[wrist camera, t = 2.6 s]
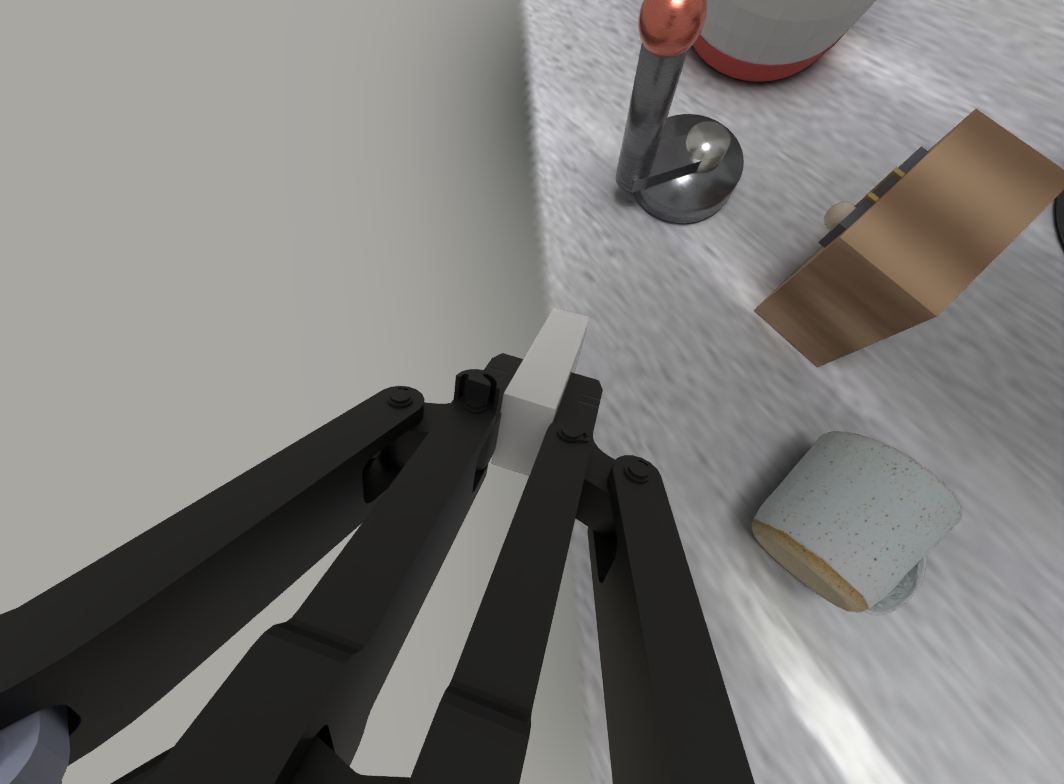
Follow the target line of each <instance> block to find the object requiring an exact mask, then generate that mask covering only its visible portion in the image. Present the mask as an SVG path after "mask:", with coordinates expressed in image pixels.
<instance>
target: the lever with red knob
mask: <svg viewBox="0 0 1064 784" xmlns="http://www.w3.org/2000/svg"><path fill="white" fill-rule="evenodd" d="M706 15H707V0H644V1H643V3H642V6H641V9H640V13H639V21H638V24H639V34H640V38H641V41H642V45H641V50H640V55H639V61H638V66H637V71H636V76H635V81H634V86H633V91H632V96H631V101H630V107H629V112H628V117H627V122H626V127H625V132H624V137H623V142H622V147H621V153H620V158H619V163H618V168H617V173H616V182H617V184H618V185H619V187H621V188H622V189H623V190H625V191H629V192H631V193H632V192H634V195H635V197H636V198H637V200H638V201H639V203H640V204H641V205H642V206H643V207H644V208H645V209H646V210H647V211H648V212H650V213H651V214H653V215H654V216H656V217H658V218H660V219H663V220H666V221H670V222H675V223H691V222H696V221H700V220H703V219H705V218H708V217H709V216H711V215H713V214H714V213H716V212H717V211H718V210H719V209H720V208H721V207H722V206H723V205H724V204H725V203H726V201H727V199H728V198H729V196H730V194H731V193H732V191H733V190H734V188H735V186H736V185H737V183H738V181H739V180H740V177H741V175H742V171H743V163H744V160H743V153H742V149H741V146H740V144H739V142H738V140H737V139H736V137H735V136H734V135H733V133H732V132H731V131H730V130H729V129H728V128H726V127H725V126H724V125H722V124H721V123H719V122H717V121H716V120H713V119H711V118H708V117H705V116H701V115H694V114H682V115H675V116H671V117H668V118H667V116H668V113H669V110H670V106H671V103H672V100H673V97H674V93H675V90H676V87H677V83H678V80H679V77H680V74H681V70H682V67H683V64H684V61H685V57H686V54H687V51H688V49H689V48H690V47H691V46H692V45H693V44H694V43H695V41H696V40H697V38H698V37H699V35H700V33H701V31H702V29H703V26H704V23H705V20H706Z"/></svg>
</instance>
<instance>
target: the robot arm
mask: <svg viewBox="0 0 1064 784" xmlns="http://www.w3.org/2000/svg"><path fill="white" fill-rule="evenodd" d="M1056 219H1057V225H1058V230H1059V233H1060V237H1061V239H1062V242H1063V244H1064V190H1063V191H1062V192H1061V193H1060V194H1059V195H1058V196H1057V202H1056ZM589 319H590V317H588V316H584V315H581V314H577V313H574V312H570V311H566V310H563V309H559V308H556V307H554V308H553V309H552V311H551V313H550V315H549V316H548V318H547V320H546V321H545V323H544V325H543V327H542V328H541V330H540V332H539V333H538V335H537V337H536V339H535V340H534V342H533V344H532V346H531V347H530V349H529V351H528V352H527V354H526V356H525V358H524V359H521V358H517V357H514V356H510V355H507V354H504V353H502V354H500V355H498V356H496V357H494V358H492V359H491V361H490V362H489V363H488V365H487V367H486V368H485V369H484V370H478V369H471V370H465V371H462V372H460V373H459V374H458V375H456V381H455V392H454V400H453V401H452V402H451V403H448V404H435V403H434V404H433V403H424V397H423V395H422V393H420V392H419V391H418V390H416V389H413V388H410V387H406V386H395V387H390V388H387V389H384V390H382V391H380V392H379V393H377V394H375V395H374V396H372V397H370V398H369V399H367V400H365V401H363V402H362V403H360V404H358V405H357V406H355V407H354V408H352V409H350V410H348V411H347V412H345V413H343V414H342V415H340V416H339V417H337V418H335V419H333V420H332V421H330V422H328V423H327V424H325V425H323V426H322V427H320V428H318V429H317V430H315V431H313V432H312V433H310V434H308V435H307V436H305V437H303V438H301V439H300V440H298V441H296V442H295V443H293V444H291V445H290V446H288V447H286V448H285V449H283V450H282V451H280V452H278V453H276V454H275V455H273V456H272V457H270V458H268V459H266V460H265V461H263V462H261V463H260V464H258V465H256V466H255V467H253V468H251V469H250V470H248V471H246V472H244V473H243V474H241V475H239V476H238V477H236V478H234V479H233V480H231V481H230V482H228V483H226V484H224V485H223V486H221V487H219V488H218V489H216V490H214V491H213V492H211V493H209V494H208V495H206V496H204V497H203V498H201V499H199V500H198V501H196V502H194V503H192V504H191V505H189V506H188V507H186V508H184V509H182V510H181V511H179V512H177V513H176V514H174V515H173V516H171V517H169V518H167V519H166V520H164V521H162V522H161V523H159V524H157V525H156V526H154V527H152V528H151V529H149V530H147V531H146V532H144V533H142V534H141V535H139V536H137V537H135V538H134V539H132V540H130V541H129V542H127V543H125V544H124V545H122V546H120V547H119V548H117V549H115V550H114V551H112V552H110V553H109V554H107V555H105V556H104V557H102V558H100V559H99V560H97V561H96V562H94V563H92V564H90V565H89V566H87V567H85V568H83V569H82V570H80V571H79V572H77V573H75V574H74V575H72V576H70V577H68V578H67V579H65V580H64V581H62V582H60V583H58V584H57V585H55V586H53V587H52V588H50V589H48V590H47V591H45V592H43V593H42V594H40V595H38V596H37V597H35V598H33V599H32V600H30V601H28V602H27V603H25V604H23V605H21V606H20V607H18V608H16V609H13V610H11V611H8V612H6V613H3V614H1V615H0V784H62V778H63V775H64V773H65V771H66V769H67V766H69V765H70V764H72V763H73V762H75V761H77V760H78V759H79V758H81V757H83V756H84V755H86V754H88V753H89V752H91V751H93V750H94V749H95V748H97V747H98V746H100V745H101V744H103V743H104V742H105V741H107V740H108V739H109V738H111V737H112V736H114V735H115V734H116V733H118V732H119V731H121V730H122V729H123V728H125V727H126V726H128V725H129V724H131V723H132V722H133V721H134V720H136V719H137V718H138V717H139V716H140V715H142V714H143V713H144V712H145V711H147V710H148V709H149V708H150V707H151V706H153V705H154V704H155V703H156V702H157V701H159V700H160V699H161V698H162V697H164V696H165V695H166V694H167V693H168V692H169V691H171V690H172V689H173V688H174V687H175V686H176V685H177V684H178V683H180V682H181V681H182V680H183V679H184V678H185V677H187V676H188V675H189V674H190V673H191V672H192V671H193V670H195V669H196V668H197V667H198V666H199V665H200V664H201V663H203V662H204V661H205V660H206V659H207V658H208V657H209V656H210V655H212V654H213V653H214V652H215V651H216V650H217V649H219V647H221V646H222V645H223V644H224V643H225V642H227V641H228V640H229V639H230V638H231V637H232V636H233V635H235V634H236V633H237V632H238V631H239V630H240V629H241V628H243V627H244V626H245V625H246V624H247V623H248V622H249V621H251V620H252V619H253V618H254V617H255V616H256V615H257V614H259V613H260V612H261V611H262V610H263V609H264V608H265V607H267V606H268V605H269V604H270V603H271V602H272V601H273V600H275V599H276V598H277V597H278V596H279V595H280V594H281V593H283V592H284V591H285V590H286V589H287V588H288V587H289V586H291V585H292V584H293V583H294V582H295V581H296V580H297V579H299V578H300V577H301V576H302V575H303V574H304V573H305V572H307V570H309V569H310V568H311V567H312V566H313V565H315V564H316V563H317V562H318V561H319V560H320V559H321V558H323V557H324V556H325V555H326V554H327V553H328V552H329V551H331V550H332V549H333V548H334V547H335V546H336V545H337V544H339V543H340V542H341V541H342V540H343V539H344V538H345V537H347V536H348V535H349V534H350V533H351V532H352V531H353V530H354V529H356V528H357V527H358V526H359V525H360V524H361V523H362V524H361V526H360V527H359V528H358V530H357V531H356V532H355V534H354V535H353V536H352V538H351V539H350V540H349V542H348V543H347V544H346V546H345V547H344V549H343V550H342V551H341V553H340V554H339V555H338V557H337V558H336V560H335V561H334V562H333V563H332V565H331V566H330V568H329V569H328V571H327V572H326V573H325V574H324V576H323V577H322V578H321V580H320V581H319V582H318V584H317V585H316V587H315V588H314V589H313V591H312V592H311V593H310V595H309V596H308V597H307V599H306V600H305V602H304V603H303V604H302V605H301V607H300V608H299V610H298V611H297V612H296V613H295V614H294V615H293V617H292V618H291V619H289V620H288V621H287V622H284V623H280V624H276V625H273V626H272V627H271V628H269V629H268V630H267V631H265V632H264V633H263V634H262V635H261V636H260V637H259V639H258V640H257V641H256V642H255V643H254V644H253V645H252V647H251V648H250V649H249V651H248V652H247V653H246V654H245V656H244V657H243V659H242V660H241V661H240V662H239V663H238V665H237V666H236V667H235V669H234V670H233V671H232V672H231V674H230V675H229V676H228V678H227V679H226V680H225V681H224V683H223V684H222V685H221V687H220V688H219V689H218V690H217V692H216V693H215V694H214V696H213V697H212V698H211V699H210V701H209V702H208V704H207V705H206V706H205V707H204V709H203V710H202V711H201V713H200V714H199V715H198V716H197V718H196V719H195V720H194V721H193V723H192V724H191V725H190V727H189V728H188V729H187V731H186V732H185V733H184V734H183V736H182V737H181V738H180V739H179V741H178V742H177V743H176V745H175V746H174V747H172V748H170V749H169V750H167V751H165V752H163V753H161V754H160V755H158V756H156V757H155V758H153V759H151V760H150V761H148V762H146V763H144V764H143V765H141V766H140V767H138V768H136V769H134V770H133V771H131V772H129V773H128V774H126V775H124V776H123V777H121V778H119V779H118V780H116V781H114V782H113V783H111V784H519V782H520V777H521V773H522V768H523V764H524V759H525V755H526V750H527V745H528V740H529V735H530V728H531V713H532V708H533V703H534V699H535V694H536V690H537V685H538V681H539V676H540V672H541V667H542V663H543V659H544V654H545V650H546V645H547V641H548V636H549V632H550V628H551V623H552V619H553V615H554V610H555V606H556V601H557V597H558V592H559V588H560V584H561V579H562V574H563V570H564V566H565V562H566V557H567V553H568V548H569V544H570V539H571V535H572V531H573V526H574V522H575V518H576V519H578V520H579V521H581V522H582V523H584V524H585V525H587V526H588V540H589V550H590V560H591V570H592V580H593V590H594V600H595V610H596V620H597V630H598V640H599V650H600V660H601V669H602V679H603V689H604V699H605V709H606V719H607V729H608V739H609V749H610V759H611V769H612V779H613V784H755V783H754V780H753V777H752V773H751V770H750V767H749V763H748V760H747V757H746V754H745V750H744V747H743V744H742V740H741V737H740V734H739V731H738V727H737V724H736V721H735V717H734V714H733V711H732V708H731V704H730V701H729V698H728V694H727V691H726V688H725V685H724V681H723V678H722V675H721V671H720V668H719V665H718V662H717V658H716V655H715V652H714V648H713V645H712V642H711V639H710V635H709V632H708V629H707V625H706V622H705V619H704V616H703V612H702V609H701V606H700V603H699V599H698V596H697V593H696V589H695V586H694V583H693V580H692V576H691V573H690V570H689V566H688V563H687V560H686V557H685V553H684V550H683V547H682V543H681V540H680V537H679V534H678V530H677V527H676V524H675V520H674V517H673V514H672V511H671V507H670V504H669V501H668V497H667V494H666V491H665V488H664V484H663V481H662V478H661V475H660V473H659V472H658V470H657V469H656V468H655V467H654V466H653V465H652V464H651V463H650V462H648V461H646V460H644V459H643V458H640V457H636V456H633V455H624V456H621V457H619V458H617V459H616V460H615V459H613V458H611V457H609V456H608V455H606V454H605V453H603V452H602V451H601V450H600V449H599V448H598V447H597V445H596V444H595V442H594V439H593V430H594V426H595V422H596V417H597V413H598V408H599V404H600V399H601V395H602V391H603V389H602V387H601V385H600V382H599V380H596V379H592V378H589V377H585V376H582V375H579V374H575V373H574V372H575V369H576V365H577V362H578V358H579V355H580V351H581V347H582V344H583V340H584V337H585V333H586V330H587V326H588V323H589ZM492 455H493V458H492V464H494V465H498V466H501V467H504V468H507V469H510V470H513V471H516V472H519V473H522V474H525V475H528V476H529V478H528V481H527V484H526V486H525V489H524V491H523V494H522V497H521V499H520V502H519V504H518V507H517V510H516V512H515V515H514V518H513V520H512V523H511V525H510V528H509V531H508V533H507V536H506V539H505V541H504V544H503V547H502V549H501V552H500V554H499V557H498V560H497V562H496V565H495V568H494V570H493V573H492V575H491V578H490V581H489V583H488V586H487V589H486V591H485V594H484V597H483V599H482V602H481V604H480V607H479V610H478V612H477V615H476V618H475V620H474V623H473V625H472V628H471V631H470V633H469V636H468V639H467V641H466V644H465V646H464V649H463V652H462V654H461V657H460V660H459V662H458V665H457V668H456V670H455V673H454V675H453V678H452V680H451V682H450V684H449V686H448V687H447V689H446V690H445V693H444V694H443V697H442V699H441V701H440V703H439V706H438V708H437V711H436V713H435V716H434V718H433V721H432V723H431V726H430V729H429V731H428V734H427V736H426V739H425V742H424V744H423V747H422V749H421V752H420V755H419V757H418V760H417V762H416V765H415V767H414V770H413V773H412V775H411V778H409V777H387V776H367V775H360V774H358V773H356V772H355V771H354V770H353V769H351V768H350V767H349V766H350V764H351V762H352V760H353V758H354V755H355V753H356V751H357V749H358V746H359V744H360V741H361V738H362V735H363V733H364V729H365V726H366V723H367V719H368V716H369V714H370V711H371V709H372V706H373V704H374V702H375V700H376V698H377V696H378V694H379V692H380V690H381V688H382V686H383V684H384V682H385V680H386V678H387V676H388V674H389V672H390V669H391V668H392V665H393V663H394V661H395V659H396V657H397V655H398V653H399V651H400V649H401V647H402V645H403V643H404V641H405V639H406V637H407V635H408V633H409V631H410V629H411V627H412V625H413V623H414V620H415V618H416V616H417V615H418V613H419V611H420V608H421V607H422V605H423V603H424V600H425V598H426V596H427V594H428V592H429V590H430V588H431V586H432V584H433V582H434V580H435V578H436V576H437V574H438V572H439V570H440V568H441V566H442V564H443V562H444V560H445V558H446V556H447V554H448V552H449V550H450V548H451V546H452V544H453V541H454V539H455V538H456V535H457V533H458V531H459V529H460V527H461V525H462V523H463V521H464V519H465V517H466V515H467V513H468V511H469V509H470V507H471V505H472V503H473V501H474V499H475V497H476V495H477V493H478V491H479V489H480V487H481V485H482V483H483V481H484V478H485V476H486V473H487V467H488V463H489V461H490V459H491V457H492Z"/></svg>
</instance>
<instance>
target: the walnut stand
mask: <svg viewBox="0 0 1064 784" xmlns="http://www.w3.org/2000/svg"><path fill="white" fill-rule="evenodd" d="M1063 190H1064V170H1063V169H1062V168H1060V167H1059V166H1058V165H1056V164H1055V163H1053V162H1052V161H1050V160H1049V159H1047V158H1046V157H1045V156H1043V155H1042V154H1040V153H1039V152H1037V151H1036V150H1035V149H1033V148H1032V147H1030V146H1029V145H1027V144H1026V143H1024V142H1023V141H1022V140H1020V139H1019V138H1017V137H1016V136H1014V135H1013V134H1012V133H1010V132H1009V131H1007V130H1006V129H1004V128H1003V127H1002V126H1000V125H999V124H997V123H996V122H994V121H993V120H991V119H990V118H989V117H987V116H986V115H984V114H983V113H981V112H980V111H979V110H977V109H975V110H974V111H973V112H972V113H971V114H970V115H968V116H967V117H966V118H965V119H964V120H963V121H962V122H960V123H959V124H958V125H957V126H956V127H955V128H954V129H952V130H951V131H950V132H949V133H948V134H947V135H946V136H945V137H943V138H942V139H941V140H940V141H939V142H938V143H937V144H935V145H934V146H933V147H932V148H931V149H930V150H929V151H927V150H925V149H924V148H923V147H920V148H919V149H918V150H917V151H916V152H915V153H914V154H913V155H911V156H910V157H909V158H908V159H907V160H906V161H905V162H904V163H903V164H902V165H900V166H899V167H898V168H897V167H896V168H895V169H894V170H893V171H892V172H891V173H890V174H889V175H888V176H887V177H886V178H884V179H883V180H882V181H881V182H880V183H879V184H878V185H877V186H876V187H875V188H873V189H872V190H871V191H870V192H869V193H868V194H867V195H866V196H865V197H864V198H863V199H862V200H861V201H860V202H859V203H858V204H857V205H856V206H854V205H853V204H851V203H848V202H841V203H838V204H835V205H834V206H832V207H831V208H830V209H829V210H828V211H827V213H826V214H825V218H824V223H825V225H826V227H827V228H828V229H829V230H831V231H830V232H829V233H828V234H827V235H826V236H825V237H824V238H823V239H821V240H820V241H819V242H818V243H819V244H821V245H822V247H821V248H820V249H819V250H817V251H816V252H815V253H814V254H813V255H812V256H811V257H810V258H809V259H808V260H807V261H806V262H805V263H804V264H803V265H802V266H800V267H799V268H798V269H797V270H796V271H795V272H794V273H793V274H792V275H791V276H790V277H789V278H788V279H787V280H786V281H784V282H783V283H782V284H781V285H780V286H779V287H778V288H777V289H776V290H775V291H774V292H773V293H772V294H771V295H770V296H769V297H767V298H766V299H765V300H764V301H763V302H762V303H761V304H760V305H759V306H758V307H757V308H756V309H755V310H754V311H755V312H756V313H757V314H758V315H759V316H761V317H762V318H763V319H764V320H765V321H766V322H767V323H768V324H770V325H771V326H772V327H773V328H774V329H775V330H776V331H777V332H778V333H780V334H781V335H782V336H783V337H784V338H785V339H786V340H787V341H789V342H790V343H791V344H792V345H793V346H794V347H795V348H796V349H797V350H799V351H800V352H801V353H802V354H803V355H804V356H805V357H806V358H808V359H809V360H810V361H811V362H812V363H813V364H814V365H815V366H817V367H819V366H821V365H824V364H826V363H828V362H831V361H833V360H835V359H838V358H840V357H842V356H845V355H847V354H850V353H852V352H854V351H857V350H859V349H861V348H864V347H866V346H868V345H871V344H873V343H875V342H878V341H880V340H882V339H885V338H887V337H889V336H892V335H894V334H897V333H899V332H901V331H904V330H906V329H908V328H911V327H913V326H915V325H918V324H920V323H922V322H925V321H927V320H929V319H932V318H934V317H937V316H938V315H939V314H940V313H941V312H942V311H943V310H944V309H945V308H946V307H947V306H948V305H949V304H950V303H951V302H952V301H953V300H954V299H955V298H956V297H957V296H958V295H959V294H960V293H961V292H962V291H963V290H964V289H965V288H966V287H967V286H968V285H969V284H970V283H971V282H972V281H973V280H974V279H975V278H976V277H977V276H978V275H979V274H980V273H981V272H982V271H983V270H984V269H985V268H986V267H987V266H988V265H989V264H990V263H991V262H992V261H993V260H994V259H995V258H996V257H997V256H998V255H999V254H1000V253H1001V252H1002V251H1003V250H1004V249H1005V248H1006V247H1007V246H1008V245H1009V244H1010V243H1011V242H1012V241H1013V240H1014V239H1015V238H1016V237H1017V236H1018V235H1019V234H1020V233H1021V232H1022V231H1023V230H1024V229H1025V228H1026V227H1027V226H1028V225H1029V224H1030V223H1031V222H1032V221H1033V220H1034V219H1035V218H1036V217H1037V216H1038V215H1039V214H1040V213H1041V212H1042V211H1043V210H1044V209H1045V208H1046V207H1047V206H1048V205H1049V204H1050V203H1051V202H1052V201H1053V200H1054V199H1055V198H1056V197H1057V196H1058V195H1059V194H1060V193H1061V192H1062V191H1063Z"/></svg>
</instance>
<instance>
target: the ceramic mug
mask: <svg viewBox="0 0 1064 784" xmlns="http://www.w3.org/2000/svg"><path fill="white" fill-rule="evenodd" d="M961 517H962V507H961V505H960V503H959V501H958V499H957V498H956V496H955V495H954V493H953V492H952V491H951V490H950V489H949V488H948V487H947V486H946V485H945V484H944V483H943V482H942V481H941V480H940V479H939V478H938V477H937V476H935V475H934V474H933V473H932V472H931V471H929V470H927V469H926V468H924V467H923V466H922V465H920V464H919V463H917V462H916V461H915V460H913V459H912V458H910V457H908V456H907V455H905V454H903V453H902V452H900V451H898V450H897V449H895V448H893V447H891V446H889V445H886V444H884V443H882V442H879V441H876V440H873V439H871V438H868V437H865V436H862V435H859V434H854V433H849V432H839V431H832V432H829V433H826V434H823V435H822V436H821V437H820V438H819V439H818V440H817V441H816V442H815V444H814V445H813V446H812V447H811V448H810V450H809V451H808V452H807V453H806V454H805V455H804V456H803V458H802V459H801V460H800V461H799V462H798V463H797V465H796V466H795V467H794V468H793V469H792V470H791V472H790V473H789V474H788V475H787V476H786V478H785V479H784V480H783V481H782V483H781V484H780V485H779V486H778V487H777V488H776V489H775V491H774V492H773V493H772V494H771V495H770V496H769V497H768V498H767V499H766V500H765V502H764V503H763V504H762V506H761V507H760V508H759V510H758V512H757V514H756V516H755V518H754V519H753V521H752V530H753V534H754V536H755V538H756V540H757V541H758V542H759V544H760V545H761V546H762V547H763V548H764V549H765V550H766V551H767V552H768V553H769V554H770V555H771V556H772V557H773V558H774V559H775V560H776V561H777V562H779V563H780V564H781V565H782V566H783V567H784V568H786V569H787V570H788V571H789V572H790V573H791V574H793V575H794V576H795V577H796V578H797V579H799V580H800V581H801V582H803V583H804V584H805V585H806V586H808V587H809V588H810V589H812V590H813V591H814V592H816V593H817V594H819V595H820V596H822V597H823V598H824V599H826V600H827V601H829V602H831V603H832V604H834V605H836V606H838V607H840V608H842V609H844V610H846V611H851V612H863V611H864V612H867V613H869V614H872V615H884V614H887V613H891V612H893V611H894V610H896V609H898V608H899V607H901V606H902V605H903V604H905V603H906V602H907V601H908V600H909V599H910V598H911V597H912V596H913V595H914V593H915V592H916V590H917V589H918V587H919V585H920V584H921V582H922V579H923V577H924V574H925V570H926V560H927V556H926V554H927V553H928V552H929V551H930V550H931V549H932V548H933V547H934V546H935V545H936V544H937V543H938V542H939V541H940V540H942V538H943V537H944V536H945V535H946V534H947V533H948V532H949V531H950V530H951V529H952V528H953V527H954V526H955V525H956V524H957V523H958V521H959V520H960V519H961Z"/></svg>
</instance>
